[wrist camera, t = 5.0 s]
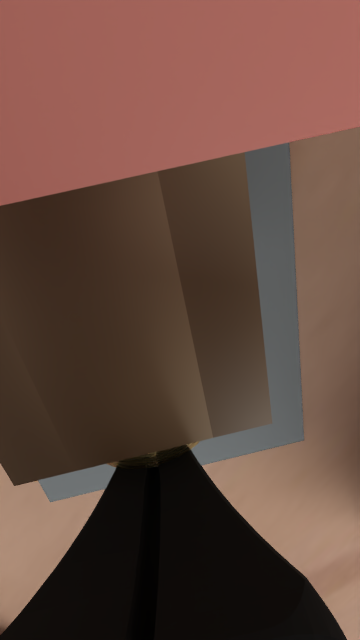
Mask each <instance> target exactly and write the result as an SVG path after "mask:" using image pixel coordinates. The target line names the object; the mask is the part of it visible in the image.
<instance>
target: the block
mask: <svg viewBox="0 0 360 640" xmlns="http://www.w3.org/2000/svg"><path fill="white" fill-rule="evenodd" d="M268 424H272V415H271V405H270V395H269V385H268V376H267V366H266V356H265V346H264V337H263V327H262V317H261V307H260V298H259V288H258V278H257V268H256V259H255V249H254V239H253V229H252V220H251V210H250V200H249V190H248V181H247V171H246V161H245V152H243V153H238V154H233V155H229V156H224V157H220V158H215V159H211V160H206V161H202V162H197V163H193V164H188V165H183V166H179V167H174V168H170V169H165V170H161V171H156V172H152V173H147V174H143V175H138V176H133V177H129V178H124V179H120V180H115V181H111V182H106V183H102V184H97V185H92V186H88V187H83V188H79V189H74V190H70V191H65V192H61V193H56V194H52V195H47V196H42V197H38V198H33V199H29V200H24V201H20V202H15V203H11V204H6V205H2V206H0V463H1V465H2V466H3V468H4V470H5V471H6V473H7V475H8V476H9V478H10V480H11V481H12V483H13V485H14V486H16V485H21V484H25V483H29V482H33V481H37V480H41V479H45V478H49V477H54V476H58V475H62V474H66V473H70V472H74V471H78V470H83V469H87V468H91V467H95V466H99V465H103V464H107V463H111V462H116V461H120V460H124V459H128V458H132V457H136V456H140V455H144V454H149V453H153V452H157V451H161V450H165V449H169V448H173V447H178V446H182V445H186V444H190V443H194V442H198V441H202V440H206V439H211V438H215V437H219V436H223V435H227V434H231V433H235V432H239V431H244V430H248V429H252V428H256V427H260V426H264V425H268Z"/></svg>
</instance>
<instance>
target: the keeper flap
mask: <svg viewBox="0 0 360 640" xmlns="http://www.w3.org/2000/svg"><path fill="white" fill-rule="evenodd" d="M356 127H360V0H0V206H2V205H6V204H11V203H15V202H20V201H24V200H29V199H33V198H38V197H42V196H47V195H52V194H56V193H61V192H65V191H70V190H74V189H79V188H83V187H88V186H92V185H97V184H102V183H106V182H111V181H115V180H120V179H124V178H129V177H133V176H138V175H143V174H147V173H152V172H156V171H161V170H165V169H170V168H174V167H179V166H183V165H188V164H193V163H197V162H202V161H206V160H211V159H215V158H220V157H224V156H229V155H233V154H238V153H243V152H247V151H252V150H256V149H261V148H265V147H270V146H274V145H279V144H283V143H288V142H293V141H297V140H302V139H306V138H311V137H315V136H320V135H324V134H329V133H333V132H338V131H343V130H347V129H352V128H356Z"/></svg>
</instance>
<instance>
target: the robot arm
mask: <svg viewBox="0 0 360 640" xmlns="http://www.w3.org/2000/svg"><path fill="white" fill-rule="evenodd" d="M0 640H347V639H346V637H345V635H344V633H343V631H342V630H341V628H340V626H339V624H338V623H337V621H336V619H335V618H334V616H333V615H332V613H331V612H330V610H329V609H328V607H327V606H326V604H325V603H324V601H323V600H322V599H321V597H320V596H319V594H318V593H317V592H316V590H315V589H314V588H313V586H312V585H311V583H310V582H309V581H308V579H307V578H306V577H305V576H304V575H303V574H302V573H301V572H299V571H298V570H297V569H296V568H295V567H294V566H293V565H291V564H290V563H289V562H288V561H287V560H286V559H285V558H284V557H282V556H281V555H280V554H279V553H278V552H277V551H276V550H275V549H274V548H273V547H272V546H271V545H270V544H269V543H268V542H267V541H265V540H264V539H263V538H262V537H261V536H260V535H259V534H258V533H257V532H256V531H255V530H254V529H253V527H252V526H251V525H250V524H249V523H248V522H247V521H246V520H245V519H244V518H243V517H242V516H241V515H240V514H239V513H238V512H237V510H236V509H235V508H234V507H233V506H232V505H231V504H230V502H229V501H228V500H227V499H226V498H225V497H224V495H223V494H222V493H221V492H220V490H219V489H218V488H217V487H216V485H215V484H214V483H213V481H212V480H211V479H210V477H209V476H208V475H207V473H206V472H205V470H204V469H203V467H202V466H201V465H200V463H199V462H198V460H197V458H196V457H195V455H194V454H193V452H192V450H190V451H188V452H186V453H185V454H183V455H181V456H179V457H177V458H175V459H173V460H171V461H168V462H165V463H163V464H159V465H158V466H156V467H152V468H140V469H121V468H116V469H115V471H114V473H113V475H112V477H111V479H110V481H109V483H108V485H107V487H106V489H105V491H104V493H103V495H102V497H101V498H100V500H99V502H98V504H97V505H96V507H95V509H94V511H93V512H92V514H91V516H90V517H89V519H88V521H87V522H86V524H85V525H84V527H83V529H82V530H81V532H80V533H79V535H78V536H77V538H76V539H75V541H74V542H73V544H72V545H71V547H70V548H69V550H68V551H67V552H66V554H65V555H64V557H63V558H62V560H61V561H60V562H59V564H58V565H57V567H56V568H55V569H54V570H53V572H52V573H51V574H50V576H49V577H48V578H47V580H46V581H45V582H44V583H43V585H42V586H41V587H40V589H39V590H38V591H37V593H36V594H35V595H34V596H33V598H32V599H31V600H30V602H29V603H28V604H27V605H26V606H25V608H24V609H23V610H22V611H21V613H20V614H19V615H18V616H17V617H16V618H15V620H14V621H13V622H12V623H11V624H10V625H9V626H8V628H7V629H6V630H5V631H4V632H3V633H2V635H1V636H0Z"/></svg>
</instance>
